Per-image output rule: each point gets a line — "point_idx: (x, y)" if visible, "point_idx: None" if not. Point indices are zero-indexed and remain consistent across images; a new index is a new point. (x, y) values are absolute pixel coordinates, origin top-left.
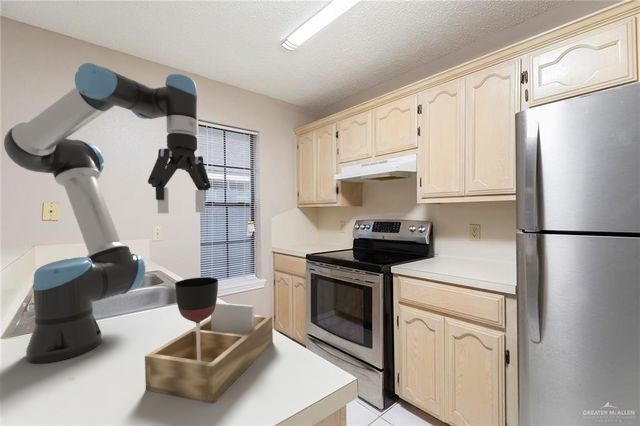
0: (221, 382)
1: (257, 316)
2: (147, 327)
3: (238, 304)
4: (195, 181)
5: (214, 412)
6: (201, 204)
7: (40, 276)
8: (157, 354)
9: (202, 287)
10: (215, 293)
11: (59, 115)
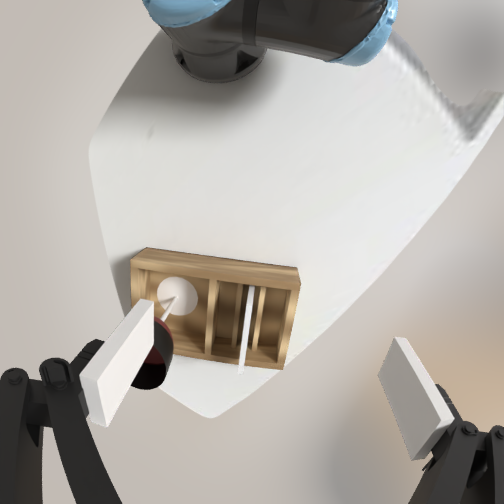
0: None
1: (281, 350)
2: (318, 106)
3: (245, 352)
4: (428, 485)
5: None
6: (392, 392)
7: None
8: (136, 273)
9: None
10: (147, 377)
11: None
